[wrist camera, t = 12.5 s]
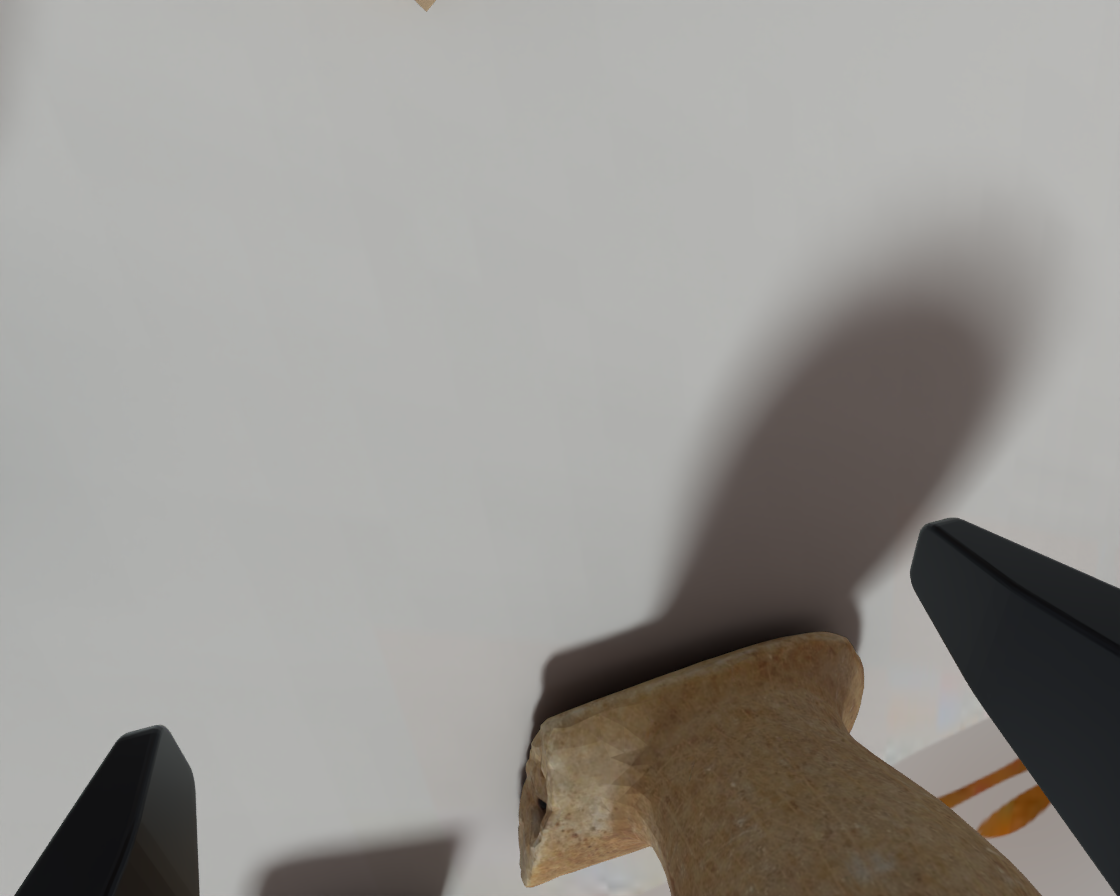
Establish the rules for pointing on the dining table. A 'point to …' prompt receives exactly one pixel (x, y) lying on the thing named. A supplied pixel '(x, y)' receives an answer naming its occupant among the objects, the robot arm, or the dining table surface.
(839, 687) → the stone cup
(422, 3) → the wooden compartment tray
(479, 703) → the dining table surface
